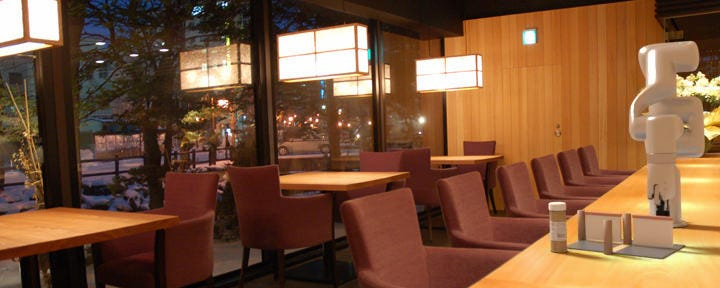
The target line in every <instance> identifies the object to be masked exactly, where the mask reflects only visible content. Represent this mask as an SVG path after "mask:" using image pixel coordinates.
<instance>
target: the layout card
mask: <svg viewBox="0 0 720 288" xmlns="http://www.w3.org/2000/svg"><path fill="white" fill-rule="evenodd" d="M684 246H685V247H686V244H679V243H673V247H665V246H655V245H645V244H634V240H633V239H632V244H631V245H625V244H623V238H622V242H614V241H613V254H612V255H622V256H631V257H639V258H649V259H657V260H663V259H665V258H666V257H668V256H670V255H672V254H674V253H676V252H678V251H679V250H682V248H684ZM568 249H570V250H577V251H578V250H579V251H586V252H587V251H588V252H594V253H603V254H604V240H594V239H586V240H581V241H578V240H577V241H575V242H574V243H573V242H572V243H570V244H567V250H568Z"/></svg>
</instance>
